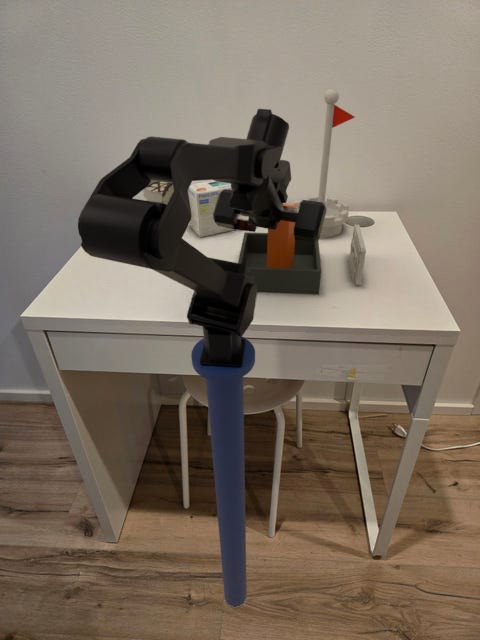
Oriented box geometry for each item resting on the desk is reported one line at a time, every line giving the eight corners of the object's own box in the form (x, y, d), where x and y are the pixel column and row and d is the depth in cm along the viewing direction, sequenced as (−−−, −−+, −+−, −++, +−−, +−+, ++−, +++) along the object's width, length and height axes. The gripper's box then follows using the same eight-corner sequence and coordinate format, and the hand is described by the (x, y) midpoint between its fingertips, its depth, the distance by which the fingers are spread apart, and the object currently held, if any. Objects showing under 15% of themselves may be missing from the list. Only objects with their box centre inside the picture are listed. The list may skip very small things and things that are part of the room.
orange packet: (285, 278, 86) (289, 215, 78) (266, 274, 87) (268, 212, 79) (293, 266, 89) (297, 205, 82) (275, 262, 91) (277, 202, 83)
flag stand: (287, 236, 101) (295, 93, 84) (295, 215, 112) (303, 83, 94) (344, 242, 99) (365, 95, 81) (347, 219, 109) (365, 84, 91)
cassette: (347, 256, 93) (351, 222, 89) (355, 256, 93) (361, 223, 89) (352, 286, 84) (358, 250, 79) (362, 286, 84) (369, 250, 79)
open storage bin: (318, 294, 82) (321, 271, 79) (237, 291, 83) (236, 268, 80) (315, 255, 94) (317, 234, 91) (244, 253, 95) (244, 232, 92)
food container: (156, 213, 114) (151, 174, 108) (179, 214, 113) (175, 175, 107) (141, 233, 104) (134, 192, 98) (166, 234, 103) (160, 193, 98)
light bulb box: (229, 219, 110) (227, 176, 104) (241, 229, 105) (240, 185, 99) (189, 227, 106) (185, 184, 100) (200, 238, 102) (196, 193, 95)
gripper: (330, 152, 65) (337, 199, 79) (216, 141, 71) (243, 187, 85) (311, 222, 64) (322, 257, 78) (198, 205, 70) (228, 240, 84)
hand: (277, 232), depth 82 cm, fingers open, 9 cm apart
